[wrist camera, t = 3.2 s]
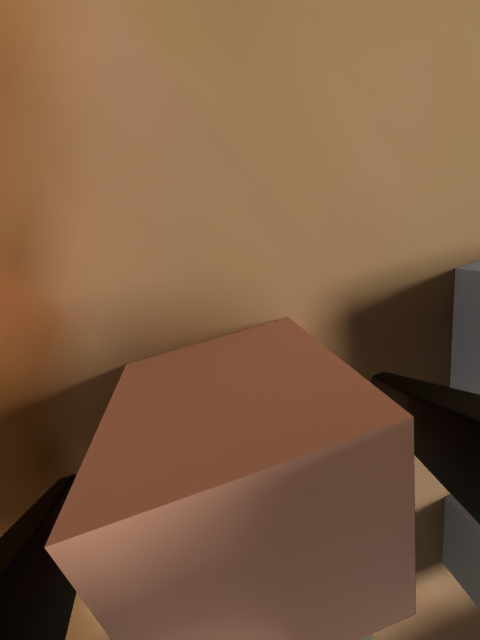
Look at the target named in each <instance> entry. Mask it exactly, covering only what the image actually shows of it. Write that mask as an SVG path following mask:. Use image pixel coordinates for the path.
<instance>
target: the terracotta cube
mask: <svg viewBox="0 0 480 640" xmlns="http://www.w3.org/2000/svg"><path fill="white" fill-rule="evenodd" d="M44 548H45V549H46V550H47V552H48V553H49V555H50V556H51V557H52V559H53V560H54V561H55V563H56V564H57V566H58V567H59V568H60V570H61V571H62V572H63V574H64V575H65V577H66V578H67V579H68V581H69V582H70V583H71V585H72V586H73V587H74V589H75V590H76V592H77V593H78V594H79V596H80V597H81V598H82V600H83V601H84V603H85V604H86V605H87V607H88V608H89V609H90V611H91V612H92V614H93V615H94V616H95V618H96V619H97V620H98V622H99V623H100V624H101V626H102V627H103V629H104V630H105V631H106V633H107V634H108V635H109V637H110V638H111V640H359V639H361V638H364V637H366V636H368V635H370V634H372V633H375V632H377V631H379V630H381V629H384V628H386V627H388V626H390V625H393V624H395V623H397V622H399V621H402V620H404V619H406V618H408V617H411V616H413V615H415V614H416V581H415V488H414V417H413V416H412V415H411V414H410V413H408V412H407V411H406V410H405V409H403V408H402V407H401V406H400V405H398V404H397V403H396V402H394V401H393V400H392V399H391V398H389V397H388V396H387V395H386V394H384V393H383V392H382V391H381V390H379V389H378V388H377V387H376V386H374V385H373V384H372V383H370V382H369V381H368V380H367V379H365V378H364V377H363V376H362V375H360V374H359V373H358V372H357V371H355V370H354V369H353V368H352V367H350V366H349V365H348V364H346V363H345V362H344V361H343V360H341V359H340V358H339V357H338V356H336V355H335V354H334V353H333V352H331V351H330V350H329V349H328V348H326V347H325V346H324V345H322V344H321V343H320V342H319V341H317V340H316V339H315V338H314V337H312V336H311V335H310V334H309V333H307V332H306V331H305V330H304V329H302V328H301V327H300V326H298V325H297V324H296V323H295V322H293V321H292V320H291V319H290V318H288V317H287V318H283V319H280V320H276V321H273V322H269V323H266V324H262V325H259V326H256V327H252V328H249V329H245V330H242V331H238V332H235V333H232V334H228V335H225V336H221V337H218V338H214V339H211V340H207V341H204V342H201V343H197V344H194V345H190V346H187V347H183V348H180V349H176V350H173V351H170V352H166V353H163V354H159V355H156V356H152V357H149V358H146V359H142V360H139V361H135V362H132V363H128V364H126V366H125V368H124V370H123V373H122V375H121V377H120V379H119V382H118V384H117V386H116V388H115V390H114V393H113V395H112V397H111V399H110V402H109V404H108V406H107V408H106V411H105V413H104V415H103V417H102V420H101V422H100V424H99V426H98V428H97V431H96V433H95V435H94V437H93V440H92V442H91V444H90V446H89V449H88V451H87V453H86V455H85V458H84V460H83V462H82V464H81V467H80V469H79V471H78V473H77V475H76V478H75V480H74V482H73V484H72V487H71V489H70V491H69V493H68V496H67V498H66V500H65V502H64V505H63V507H62V509H61V511H60V514H59V516H58V518H57V520H56V522H55V525H54V527H53V529H52V531H51V534H50V536H49V538H48V540H47V543H46V545H45V547H44Z"/></svg>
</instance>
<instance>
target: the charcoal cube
mask: <svg viewBox="0 0 480 640" xmlns="http://www.w3.org/2000/svg"><path fill="white" fill-rule="evenodd" d="M442 562H443V563H444V565H445V566H446V567H447V569H448V570H449V571H450V572H451V574H452V575H453V576H454V577H455V579H456V580H457V581H458V582H459V584H460V585H461V586H462V588H463V589H464V590H465V591H466V593H467V594H468V595H469V596H470V598H471V599H472V600H473V601H474V603H475V604H476V605H477V607H478V608H479V609H480V525H479V523H478V522H477V521H476V520H475V519H474V518H473V517H472V516H471V515H470V514H469V513H468V512H467V511H466V510H465V508H464V507H463V506H462V505H461V504H460V503H459V502H458V501H457V500H456V499H455V498H454V497H453V496H452V495H448V496H446V497H445V512H444V535H443V558H442Z"/></svg>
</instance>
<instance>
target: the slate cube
mask: <svg viewBox="0 0 480 640" xmlns="http://www.w3.org/2000/svg"><path fill="white" fill-rule="evenodd" d="M450 387H451V388H455V389H459V390H463V391H467V392H471V393H476V394H480V261H478V262H474V263H471V264H468V265H464V266H461V267H457V268H455V285H454V308H453V331H452V353H451V376H450Z"/></svg>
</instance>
